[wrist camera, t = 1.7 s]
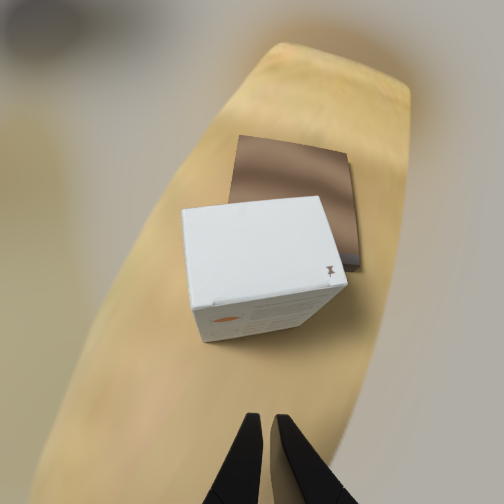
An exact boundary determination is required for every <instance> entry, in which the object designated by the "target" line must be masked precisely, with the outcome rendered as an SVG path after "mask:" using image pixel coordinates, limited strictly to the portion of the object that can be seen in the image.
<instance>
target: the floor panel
mask: <svg viewBox="0 0 504 504" xmlns="http://www.w3.org/2000/svg"><path fill="white" fill-rule="evenodd" d="M317 195H318V196H319V198H320V201H321V204H322V206H323V209H324V212H325V214H326V217H327V220H328V223H329V226H330V229H331V232H332V235H333V238H334V241H335V244H336V247H337V250H338V253H339V256H340V259H341V262H342V265H343V269H344V271H349V272H354V271H355V270H356V269H357V268H358V267H359V266H360V258H359V246H358V236H357V226H356V217H355V208H354V200H353V193H352V185H351V178H350V172H349V165H348V159H347V154H346V153H342V152H337V151H332V150H328V149H323V148H318V147H313V146H307V145H302V144H296V143H290V142H284V141H278V140H272V139H265V138H258V137H251V136H243V135H239V139H238V145H237V151H236V157H235V163H234V170H233V176H232V182H231V188H230V195H229V201H228V204H231V203H240V202H249V201H260V200H271V199H282V198H292V197H305V196H317Z"/></svg>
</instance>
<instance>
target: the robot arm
mask: <svg viewBox="0 0 504 504" xmlns="http://www.w3.org/2000/svg"><path fill="white" fill-rule="evenodd" d="M262 453H263V437H262V429H261V420H260V415H259V414H258V413H247V414H246V416H245V418H244V420H243V422H242V424H241V427H240V429H239V431H238V433H237V435H236V437H235V439H234V442H233V444H232V446H231V448H230V450H229V452H228V454H227V456H226V458H225V460H224V462H223V464H222V466H221V468H220V470H219V472H218V474H217V476H216V478H215V480H214V482H213V484H212V486H211V489H210V490H209V492H208V494H207V496H206V498H205V499H204V501H203V503H202V504H258V495H259V485H260V475H261V464H262ZM270 473H271V482H272V489H273V496H274V503H275V504H358V503H357V502H356V500H355V499H354V498H353V497H352V496H351V495H350V493H349V492H348V491H347V490H346V489H345V488H343V485H342V484H341V483H340V481H339V480H338V479H337V478H336V476H335V475H334V474H333V473H332V471H331V470H330V469H329V468H328V466H327V465H326V464H325V462H324V461H323V460H322V459H321V457H320V456H319V455H318V453H317V452H316V451H315V449H314V448H313V447H312V446H311V444H310V443H309V442H308V440H307V439H306V438H305V436H304V435H303V434H302V432H301V431H300V430H299V428H298V427H297V426H296V424H295V423H294V421H293V420H292V419H291V417H290V416H289V415H287V414H277V415H276V416H275V418H274V421H273V424H272V427H271V433H270Z"/></svg>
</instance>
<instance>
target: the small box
mask: <svg viewBox="0 0 504 504" xmlns="http://www.w3.org/2000/svg"><path fill="white" fill-rule="evenodd" d="M181 218H182V232H183V244H184V255H185V265H186V274H187V283H188V291H189V299H190V307H191V311H192V313H193V316H194V319H195V322H196V325H197V328H198V331H199V334H200V336H201V339H202V342H204V343H205V342H211V341H218V340H224V339H231V338H237V337H243V336H249V335H254V334H260V333H266V332H271V331H276V330H282V329H287V328H292V327H298V326H300V325H301V324H302V323H304V322H305V321H306V320H307V319H309V318H310V317H311V316H312V315H313V314H315V313H316V312H317V311H318V310H319V309H320V308H322V307H323V306H324V305H325V304H326V303H327V302H329V301H330V300H331V299H332V298H333V297H334V296H335V295H337V294H338V293H339V292H340V291H341V290H342V289H343V288H345V287H346V286H347V285H348V282H347V279H346V275H345V272H344V269H343V265H342V262H341V259H340V256H339V253H338V250H337V247H336V244H335V241H334V238H333V235H332V232H331V229H330V226H329V223H328V220H327V217H326V214H325V212H324V209H323V206H322V204H321V201H320V198H319V196H318V195H317V196H305V197H292V198H282V199H271V200H260V201H249V202H240V203H231V204H221V205H213V206H204V207H195V208H186V209H182V211H181Z"/></svg>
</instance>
